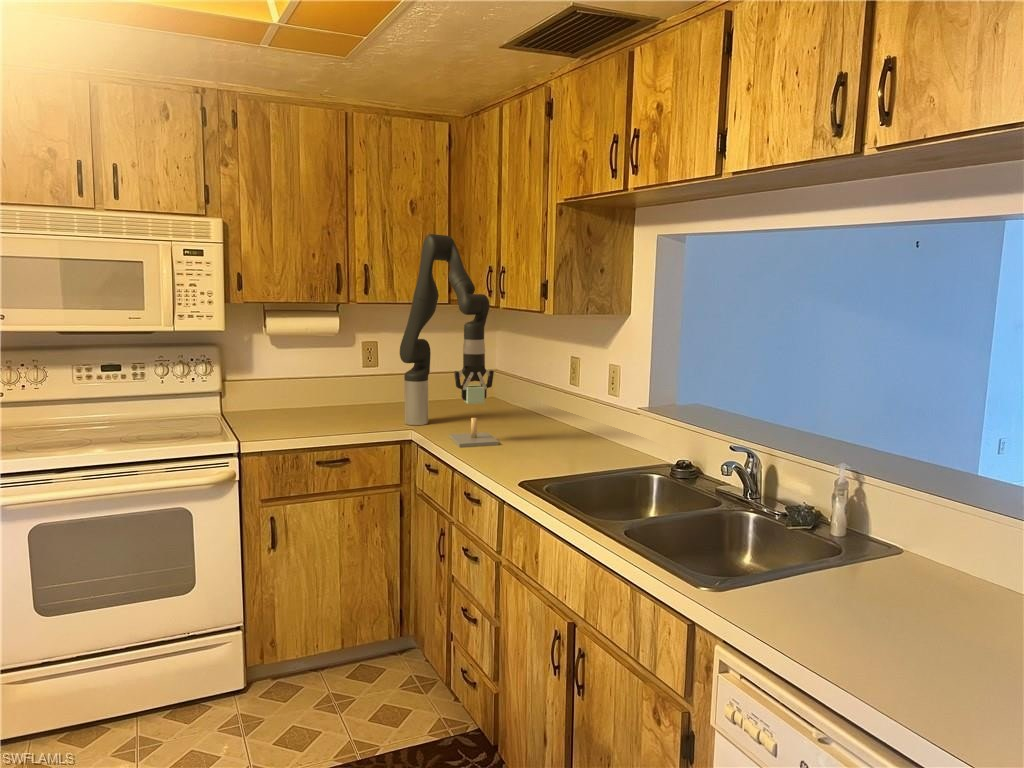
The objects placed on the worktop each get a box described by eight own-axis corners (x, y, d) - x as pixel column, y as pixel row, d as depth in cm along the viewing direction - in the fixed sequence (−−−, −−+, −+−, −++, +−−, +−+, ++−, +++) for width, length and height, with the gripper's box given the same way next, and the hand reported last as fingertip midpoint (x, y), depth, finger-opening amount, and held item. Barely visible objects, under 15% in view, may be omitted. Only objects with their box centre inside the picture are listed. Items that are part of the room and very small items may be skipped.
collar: (463, 401, 260) (463, 385, 259) (480, 400, 261) (480, 384, 261) (467, 403, 254) (467, 388, 253) (484, 403, 256) (484, 387, 255)
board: (449, 437, 265) (449, 414, 264) (487, 435, 269) (487, 413, 268) (459, 447, 250) (459, 423, 249) (499, 445, 254) (499, 421, 253)
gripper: (491, 350, 261) (490, 397, 263) (451, 351, 257) (451, 399, 259) (497, 352, 254) (496, 401, 256) (456, 353, 250) (456, 402, 252)
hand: (473, 399), depth 258 cm, fingers closed on collar, 6 cm apart
